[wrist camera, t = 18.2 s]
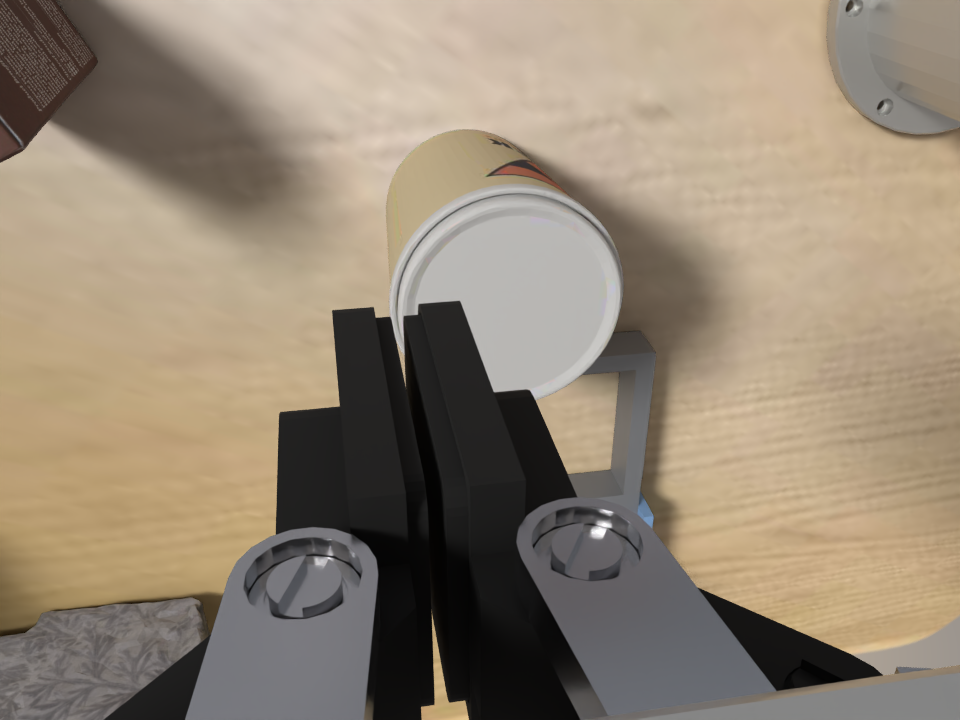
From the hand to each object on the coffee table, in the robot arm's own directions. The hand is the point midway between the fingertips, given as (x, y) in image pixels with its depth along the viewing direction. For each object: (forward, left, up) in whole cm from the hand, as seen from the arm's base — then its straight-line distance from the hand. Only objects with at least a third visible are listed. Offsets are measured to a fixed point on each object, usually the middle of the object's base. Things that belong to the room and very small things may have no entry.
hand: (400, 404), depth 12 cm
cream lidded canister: (-6, +9, -32) cm, 34 cm away
